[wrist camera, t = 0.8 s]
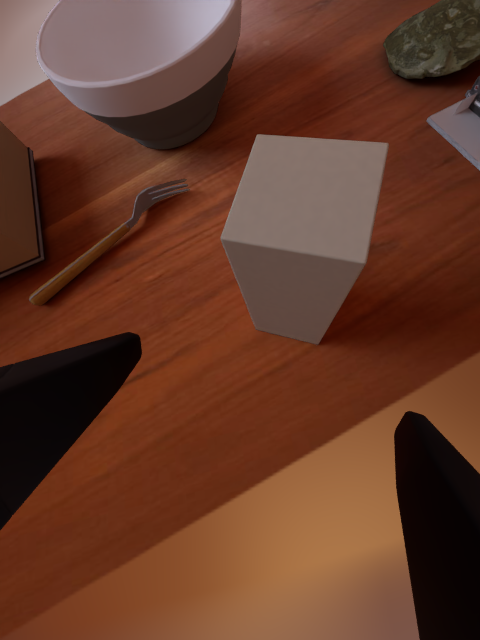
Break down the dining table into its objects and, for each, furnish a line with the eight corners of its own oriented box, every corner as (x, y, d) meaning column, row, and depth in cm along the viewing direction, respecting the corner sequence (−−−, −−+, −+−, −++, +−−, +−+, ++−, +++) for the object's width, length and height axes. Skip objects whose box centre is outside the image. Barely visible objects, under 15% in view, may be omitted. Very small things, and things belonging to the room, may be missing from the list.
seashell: (370, 28, 29) (486, -111, 22) (395, 60, 34) (499, -45, 26) (405, 105, 28) (543, -15, 20) (427, 127, 32) (546, 37, 25)
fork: (29, 308, 25) (185, 176, 27) (17, 294, 26) (173, 164, 27) (48, 312, 28) (190, 191, 29) (38, 299, 28) (180, 179, 29)
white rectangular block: (318, 345, 22) (366, 263, 9) (255, 329, 23) (219, 238, 10) (331, 286, 23) (389, 142, 10) (271, 274, 24) (256, 133, 12)
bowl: (284, 125, 29) (284, 2, 20) (129, 209, 29) (61, 123, 20) (210, 42, 36) (186, -78, 27) (84, 110, 36) (17, 12, 27)
